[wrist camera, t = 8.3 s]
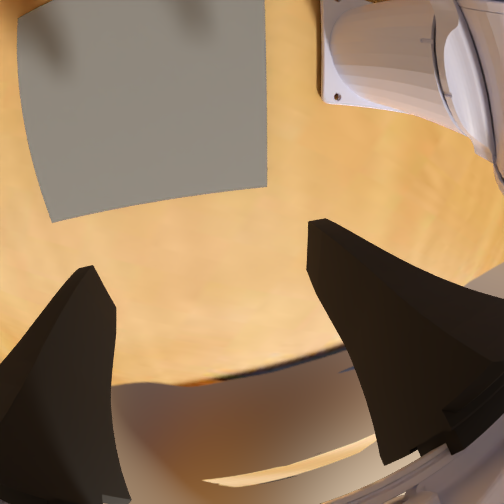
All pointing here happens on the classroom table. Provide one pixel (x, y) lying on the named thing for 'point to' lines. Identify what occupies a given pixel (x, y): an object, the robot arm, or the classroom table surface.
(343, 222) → the classroom table surface
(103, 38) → the mat
